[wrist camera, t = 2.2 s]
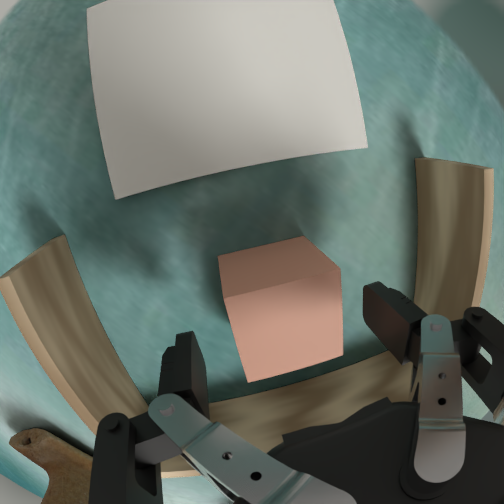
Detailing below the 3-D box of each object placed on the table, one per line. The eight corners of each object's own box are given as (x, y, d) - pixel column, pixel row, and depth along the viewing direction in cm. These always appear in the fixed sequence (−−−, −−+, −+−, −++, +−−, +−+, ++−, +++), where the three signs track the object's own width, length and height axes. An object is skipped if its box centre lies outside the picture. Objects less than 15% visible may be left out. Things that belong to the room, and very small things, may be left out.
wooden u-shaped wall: (425, 157, 16) (493, 168, 10) (415, 346, 22) (453, 386, 16) (52, 238, 14) (-4, 280, 8) (146, 419, 20) (140, 478, 14)
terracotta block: (303, 235, 16) (340, 268, 12) (311, 307, 18) (342, 355, 14) (217, 255, 16) (223, 298, 11) (236, 327, 18) (247, 382, 13)
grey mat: (320, -24, 11) (322, -27, 10) (363, 147, 15) (367, 147, 15) (89, 11, 10) (86, 8, 9) (118, 198, 14) (115, 199, 13)
